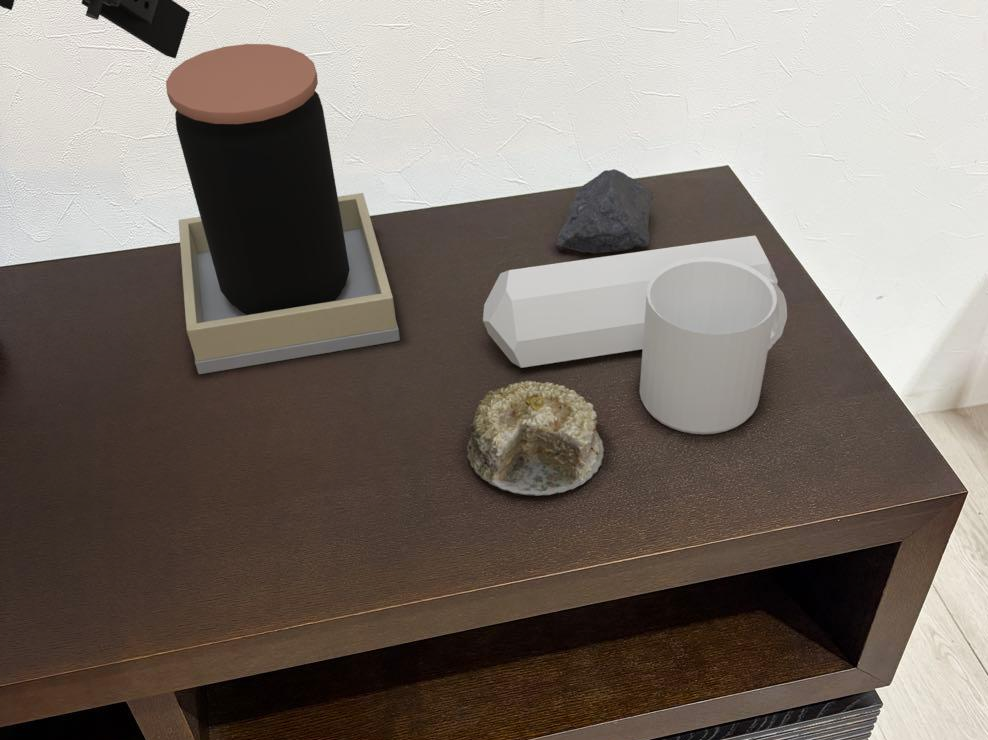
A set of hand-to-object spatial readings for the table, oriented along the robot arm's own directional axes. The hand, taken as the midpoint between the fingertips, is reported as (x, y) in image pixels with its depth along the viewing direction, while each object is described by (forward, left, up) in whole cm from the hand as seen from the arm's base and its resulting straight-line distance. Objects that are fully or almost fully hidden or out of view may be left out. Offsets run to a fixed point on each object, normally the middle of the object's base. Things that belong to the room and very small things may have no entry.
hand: (93, 10), depth 66 cm
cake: (+26, +10, -28) cm, 39 cm away
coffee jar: (-2, +11, -27) cm, 29 cm away
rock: (+12, +35, -28) cm, 46 cm away
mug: (+32, +24, -28) cm, 49 cm away
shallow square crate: (-2, +11, -28) cm, 30 cm away
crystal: (+23, +26, -28) cm, 44 cm away
